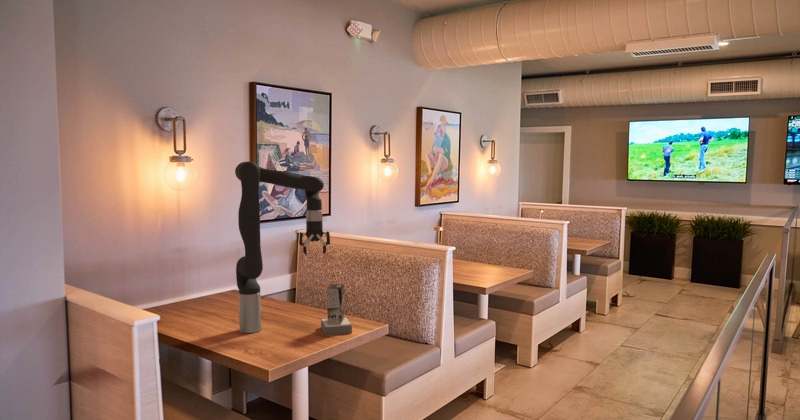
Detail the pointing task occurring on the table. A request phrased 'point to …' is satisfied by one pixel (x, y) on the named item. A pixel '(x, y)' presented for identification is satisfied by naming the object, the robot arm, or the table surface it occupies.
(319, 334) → the table surface
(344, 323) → the pedestal
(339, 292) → the coffee box
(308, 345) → the table surface
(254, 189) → the robot arm
